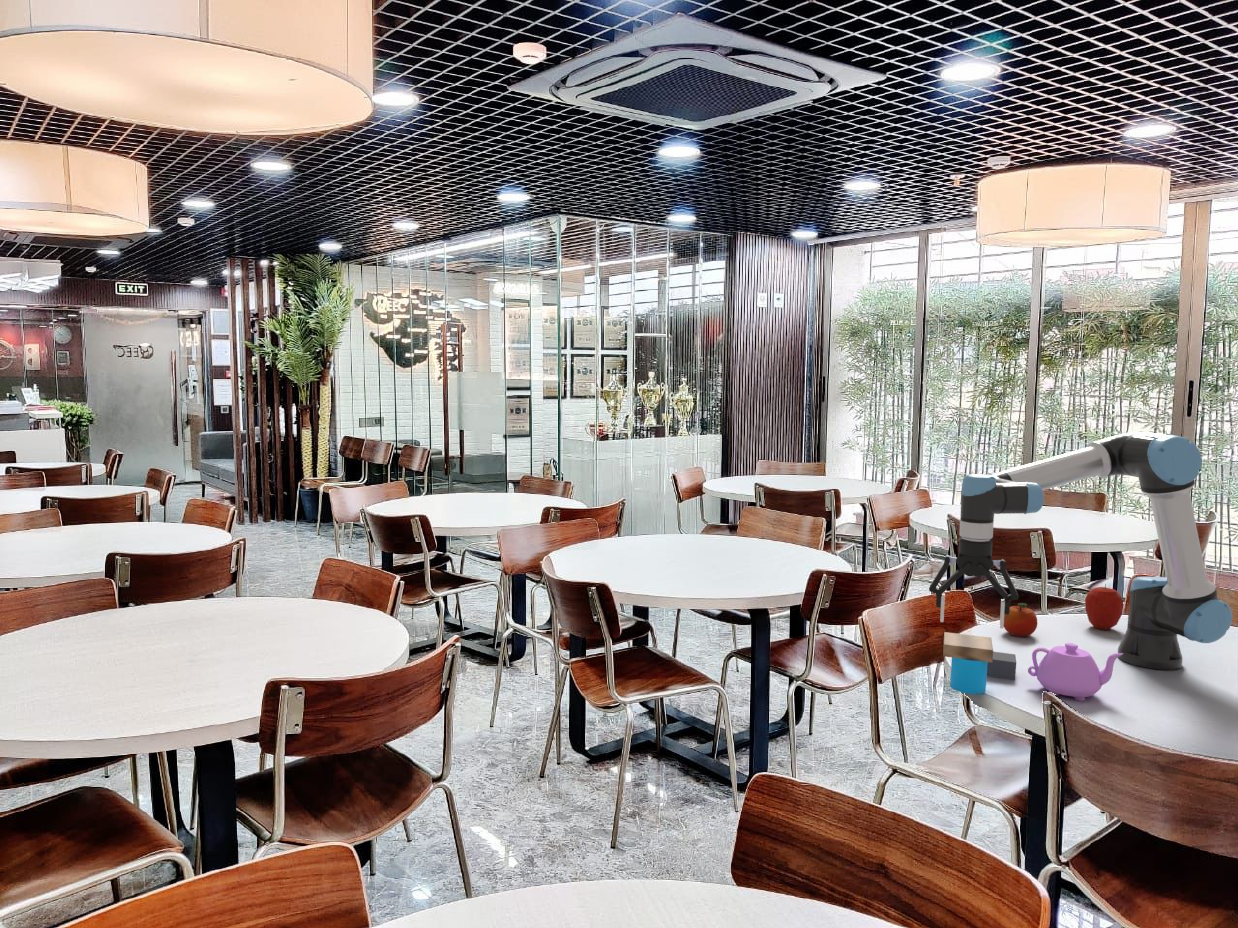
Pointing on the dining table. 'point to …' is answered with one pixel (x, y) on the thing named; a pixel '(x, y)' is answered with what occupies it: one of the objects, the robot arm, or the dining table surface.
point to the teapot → (1071, 671)
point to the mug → (968, 675)
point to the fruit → (1020, 621)
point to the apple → (1103, 607)
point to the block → (968, 647)
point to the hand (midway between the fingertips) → (971, 623)
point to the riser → (1002, 666)
